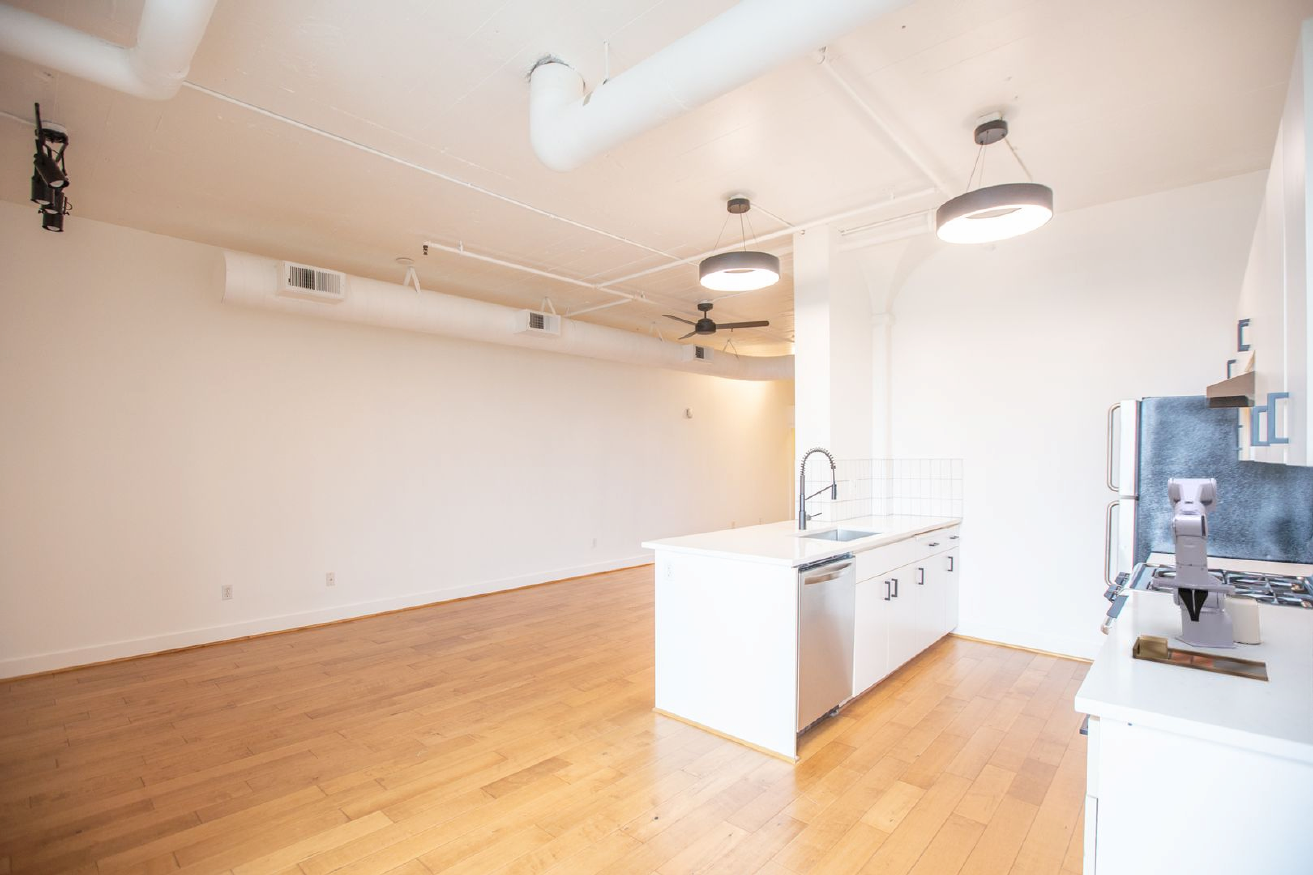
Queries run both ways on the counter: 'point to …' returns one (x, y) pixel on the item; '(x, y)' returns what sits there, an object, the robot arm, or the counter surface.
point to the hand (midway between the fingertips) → (1195, 620)
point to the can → (1243, 617)
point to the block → (1153, 646)
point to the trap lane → (1208, 662)
